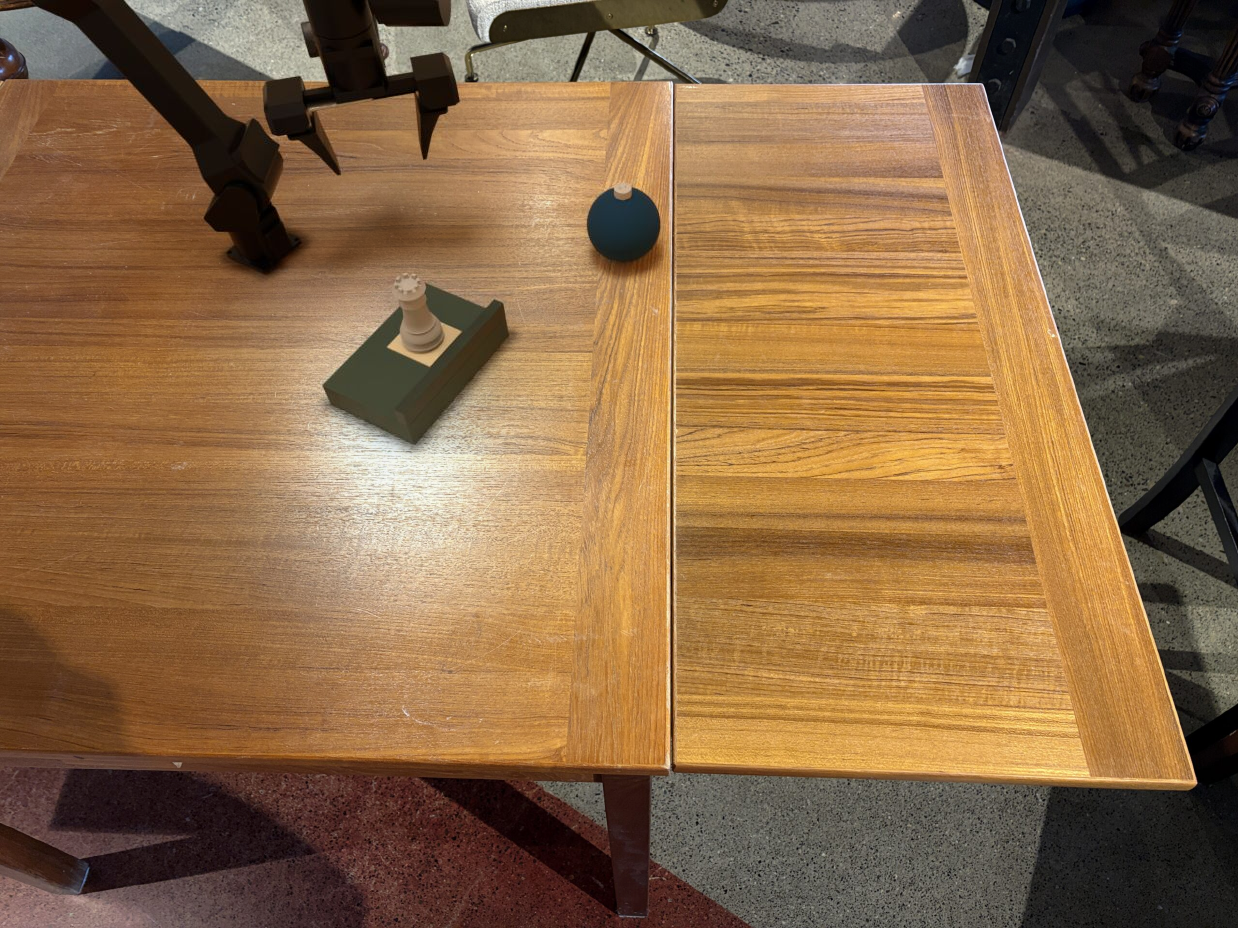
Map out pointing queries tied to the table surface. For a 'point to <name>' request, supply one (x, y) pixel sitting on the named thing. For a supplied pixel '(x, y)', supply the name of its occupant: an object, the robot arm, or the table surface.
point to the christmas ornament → (623, 223)
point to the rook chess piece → (416, 315)
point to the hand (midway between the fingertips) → (382, 165)
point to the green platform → (417, 366)
